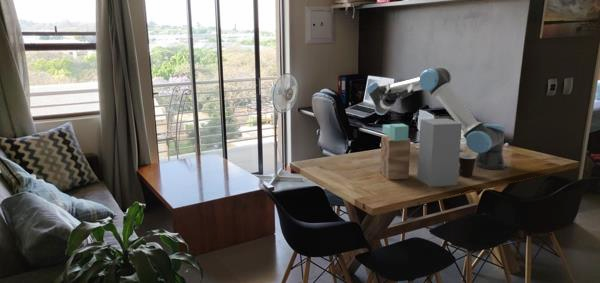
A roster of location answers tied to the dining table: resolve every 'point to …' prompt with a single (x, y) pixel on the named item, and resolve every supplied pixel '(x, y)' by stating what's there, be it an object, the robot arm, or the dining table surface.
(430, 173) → the stand
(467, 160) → the coffee mug
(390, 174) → the walnut block
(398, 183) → the dining table surface
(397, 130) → the teal bar
